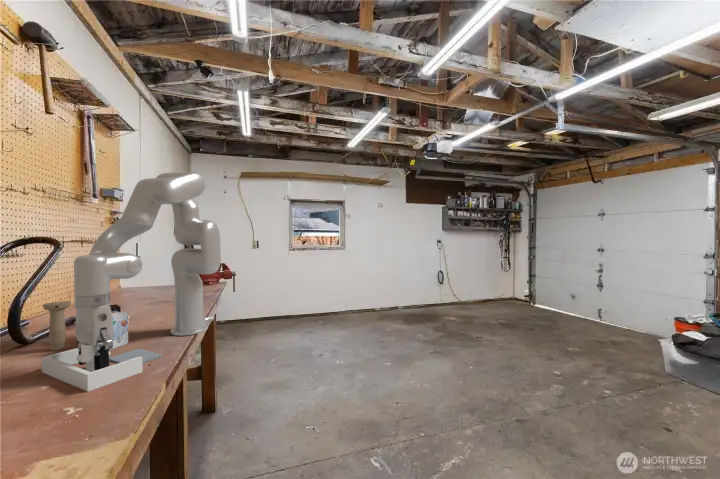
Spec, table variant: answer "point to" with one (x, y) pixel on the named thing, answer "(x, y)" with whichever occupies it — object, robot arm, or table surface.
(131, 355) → the mat
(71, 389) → the table surface
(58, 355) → the frame
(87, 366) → the pipe fitting
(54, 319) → the handle
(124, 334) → the light bulb box
